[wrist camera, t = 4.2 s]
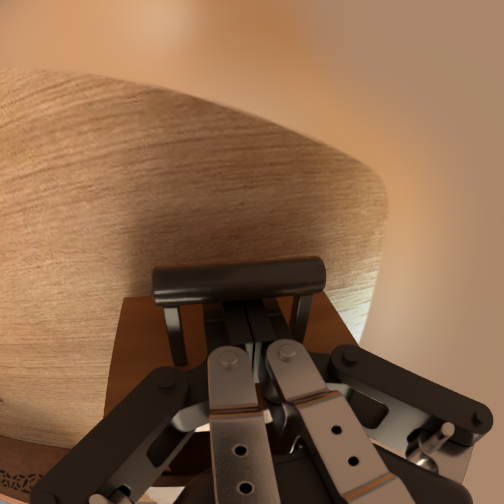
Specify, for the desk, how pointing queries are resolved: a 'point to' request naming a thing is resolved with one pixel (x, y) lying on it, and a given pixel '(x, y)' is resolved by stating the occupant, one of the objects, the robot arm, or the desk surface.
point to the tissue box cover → (24, 467)
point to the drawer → (192, 327)
